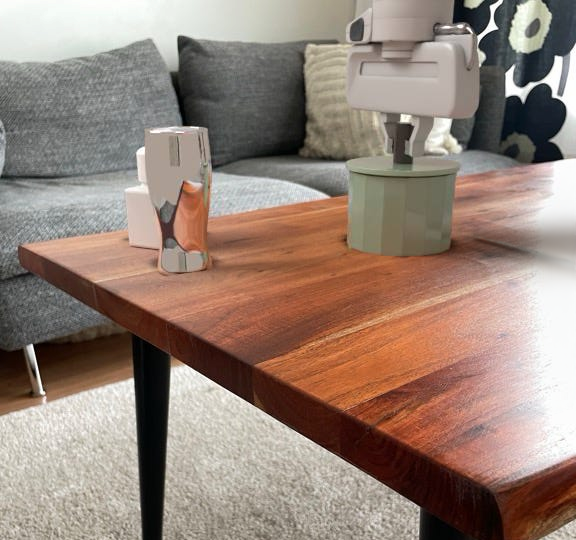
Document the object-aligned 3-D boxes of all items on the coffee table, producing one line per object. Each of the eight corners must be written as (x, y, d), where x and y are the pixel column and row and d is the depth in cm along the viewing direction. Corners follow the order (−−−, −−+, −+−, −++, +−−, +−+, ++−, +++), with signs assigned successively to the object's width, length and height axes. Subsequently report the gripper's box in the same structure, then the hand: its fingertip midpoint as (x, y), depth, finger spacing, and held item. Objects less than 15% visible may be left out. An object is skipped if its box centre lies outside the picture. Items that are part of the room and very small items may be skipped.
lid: (410, 162, 95) (414, 116, 92) (484, 176, 84) (490, 124, 82) (323, 170, 89) (324, 121, 86) (391, 185, 78) (394, 130, 76)
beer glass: (206, 279, 77) (198, 132, 71) (144, 276, 78) (132, 131, 72) (223, 263, 84) (217, 126, 77) (165, 260, 85) (155, 125, 78)
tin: (406, 232, 98) (410, 160, 94) (471, 252, 88) (479, 172, 84) (328, 243, 92) (330, 167, 88) (388, 265, 82) (393, 181, 78)
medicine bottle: (161, 235, 97) (154, 141, 92) (206, 240, 94) (201, 144, 89) (128, 246, 91) (118, 147, 86) (175, 252, 88) (168, 150, 83)
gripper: (501, 21, 73) (485, 163, 79) (380, 28, 89) (374, 145, 95) (453, 20, 70) (441, 167, 76) (337, 27, 86) (334, 148, 92)
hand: (403, 155), depth 85 cm, fingers closed on lid, 2 cm apart
